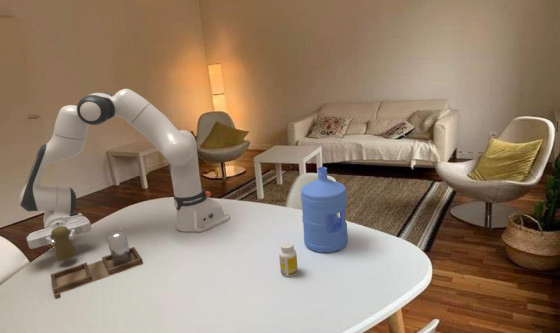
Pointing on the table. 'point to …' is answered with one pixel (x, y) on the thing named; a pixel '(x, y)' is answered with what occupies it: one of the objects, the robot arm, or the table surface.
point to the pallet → (90, 272)
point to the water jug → (324, 214)
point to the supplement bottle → (288, 259)
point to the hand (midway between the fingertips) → (62, 240)
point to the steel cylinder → (119, 247)
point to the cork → (63, 243)
